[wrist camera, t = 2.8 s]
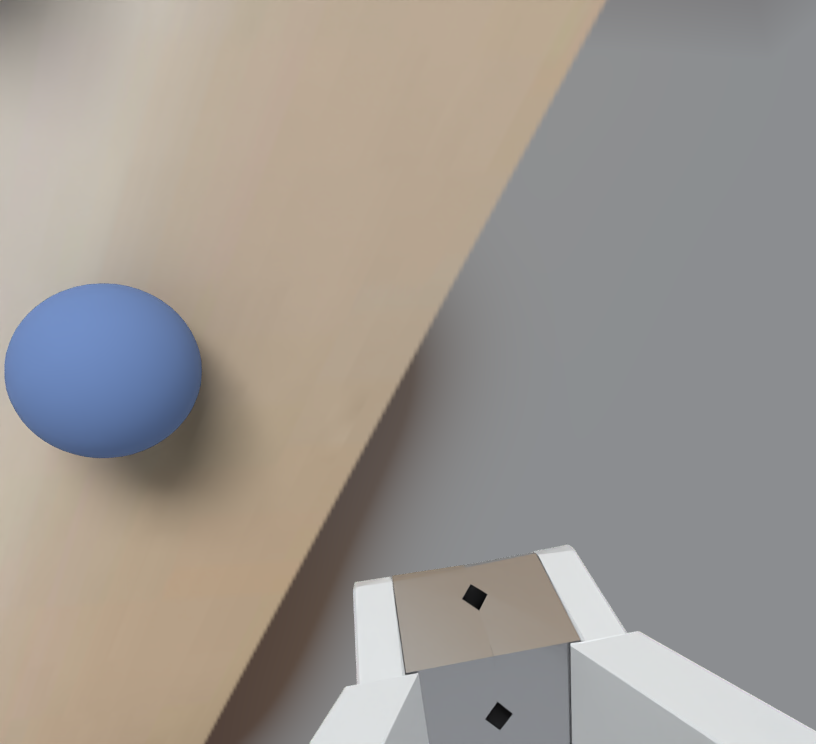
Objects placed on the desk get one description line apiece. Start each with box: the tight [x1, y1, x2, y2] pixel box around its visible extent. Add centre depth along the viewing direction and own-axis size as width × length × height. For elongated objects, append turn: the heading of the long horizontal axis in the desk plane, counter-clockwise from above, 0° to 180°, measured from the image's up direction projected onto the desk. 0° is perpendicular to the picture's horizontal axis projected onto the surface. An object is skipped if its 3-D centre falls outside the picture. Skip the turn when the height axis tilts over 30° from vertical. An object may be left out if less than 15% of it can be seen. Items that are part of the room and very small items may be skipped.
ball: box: [5, 284, 202, 458], centre depth 20 cm, size 6×6×6 cm
